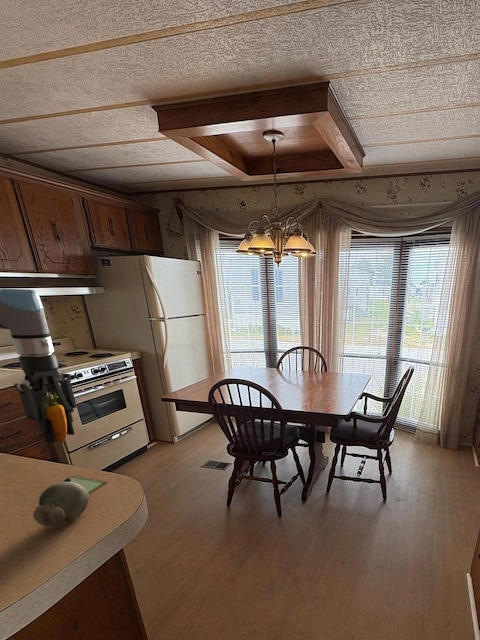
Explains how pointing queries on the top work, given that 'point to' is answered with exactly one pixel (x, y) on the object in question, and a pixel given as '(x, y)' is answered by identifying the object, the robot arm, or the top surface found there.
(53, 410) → the carrot
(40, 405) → the robot arm
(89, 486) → the tray
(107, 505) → the top surface
